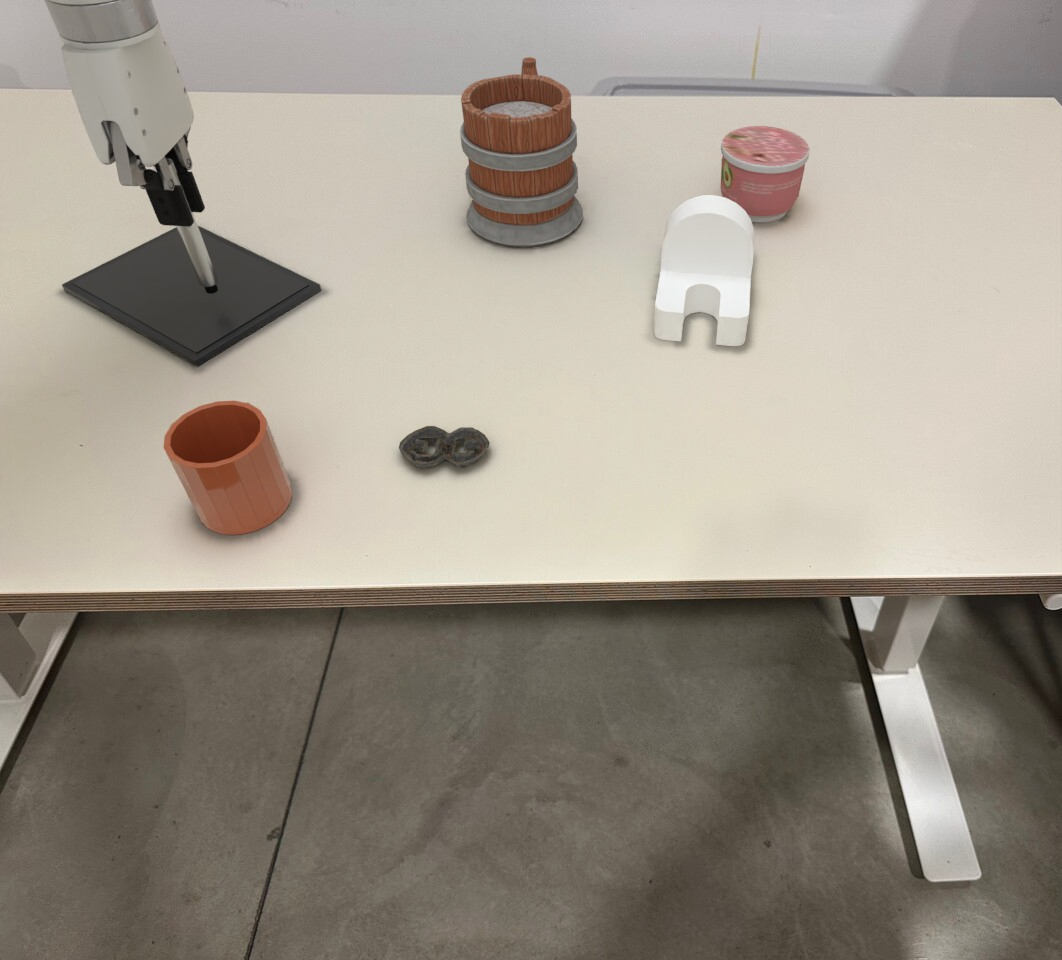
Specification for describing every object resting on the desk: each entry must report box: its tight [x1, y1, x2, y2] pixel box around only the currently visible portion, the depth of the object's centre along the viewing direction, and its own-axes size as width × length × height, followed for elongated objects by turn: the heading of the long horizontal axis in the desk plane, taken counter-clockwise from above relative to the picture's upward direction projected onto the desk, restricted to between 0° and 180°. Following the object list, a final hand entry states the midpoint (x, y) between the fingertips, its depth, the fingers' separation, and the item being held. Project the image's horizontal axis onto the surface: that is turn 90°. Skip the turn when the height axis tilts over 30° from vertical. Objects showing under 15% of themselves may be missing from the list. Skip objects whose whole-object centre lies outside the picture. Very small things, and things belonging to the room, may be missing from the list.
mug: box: [459, 56, 584, 248], centre depth 105 cm, size 14×19×15 cm
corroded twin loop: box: [398, 425, 490, 469], centre depth 80 cm, size 5×8×1 cm, turn 91°
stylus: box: [152, 158, 218, 294], centre depth 87 cm, size 2×2×14 cm
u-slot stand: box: [653, 194, 755, 347], centre depth 95 cm, size 10×18×11 cm, turn 174°
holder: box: [163, 400, 293, 536], centre depth 73 cm, size 8×8×8 cm
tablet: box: [61, 225, 322, 368], centre depth 96 cm, size 16×22×1 cm
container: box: [719, 125, 810, 223], centre depth 109 cm, size 10×10×8 cm
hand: (182, 216), depth 86 cm, fingers closed on stylus, 1 cm apart
